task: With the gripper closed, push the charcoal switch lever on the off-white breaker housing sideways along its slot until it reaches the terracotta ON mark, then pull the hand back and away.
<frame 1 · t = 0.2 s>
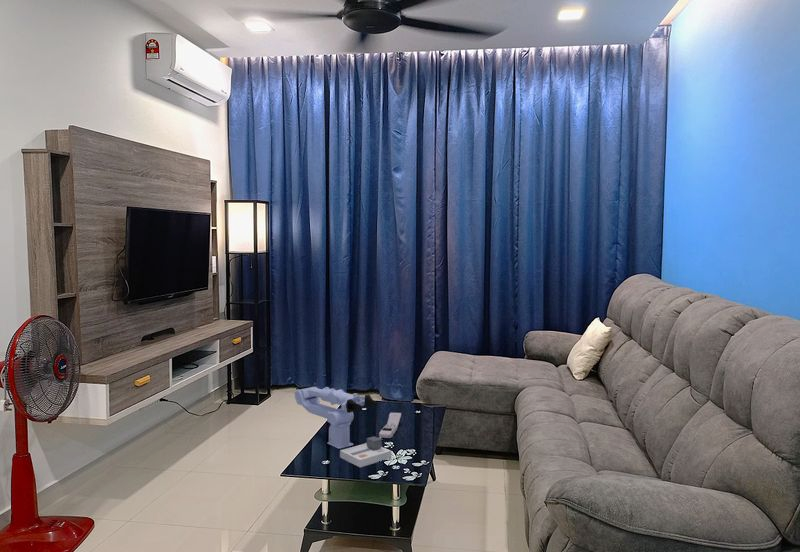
hand: (368, 406, 239), 21 cm above the table, tool horizontal, fingers open, 7 cm apart
breaker housing: (365, 457, 240), on the table
mobile phone: (390, 432, 273), on the table
switch lever: (374, 442, 243), point 5 cm above the table, slide at 0.0 cm
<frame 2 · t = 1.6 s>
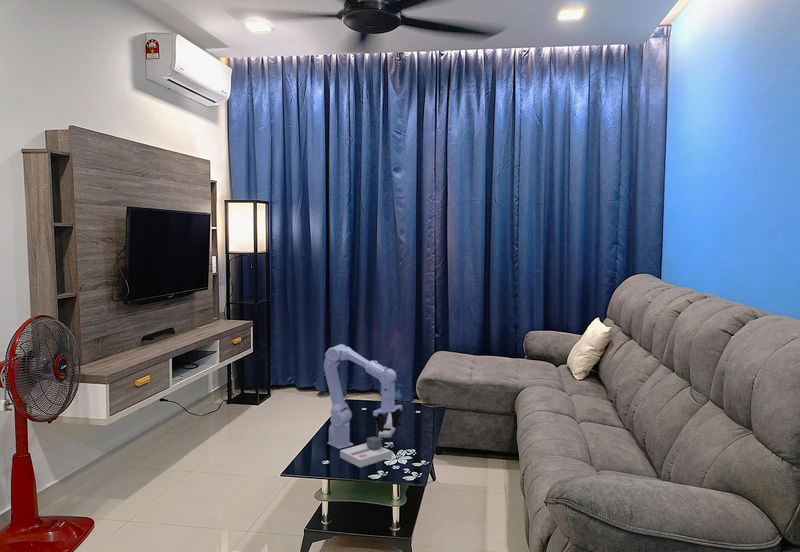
hand: (387, 429, 247), 9 cm above the table, tool pointing down, fingers open, 7 cm apart
nothing on the table moved.
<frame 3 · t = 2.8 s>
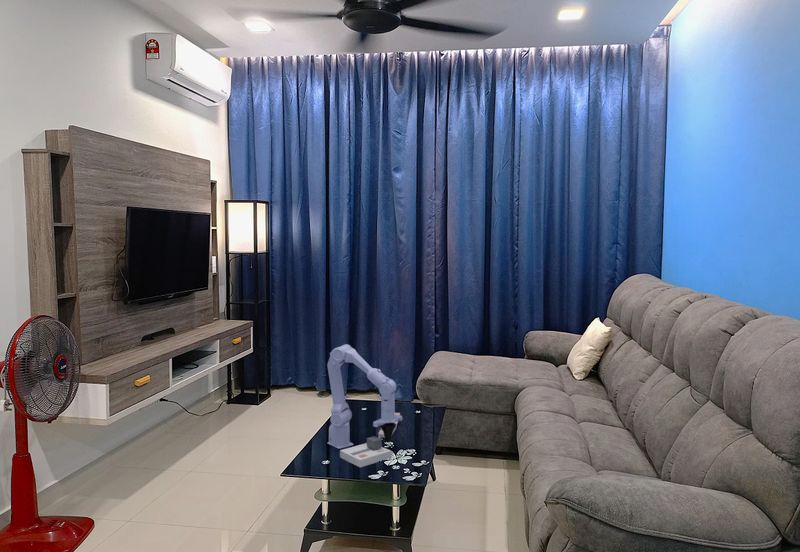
hand: (387, 440, 247), 5 cm above the table, tool pointing down, fingers closed
nothing on the table moved.
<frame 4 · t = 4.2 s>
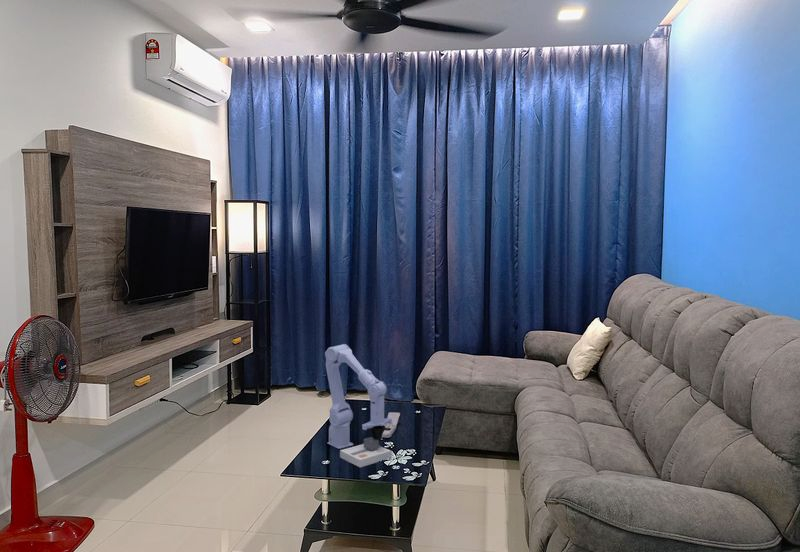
hand: (377, 443, 244), 5 cm above the table, tool pointing down, fingers closed
switch lever: (371, 443, 242), point 5 cm above the table, slide at 1.5 cm, touching gripper
everything else where it was.
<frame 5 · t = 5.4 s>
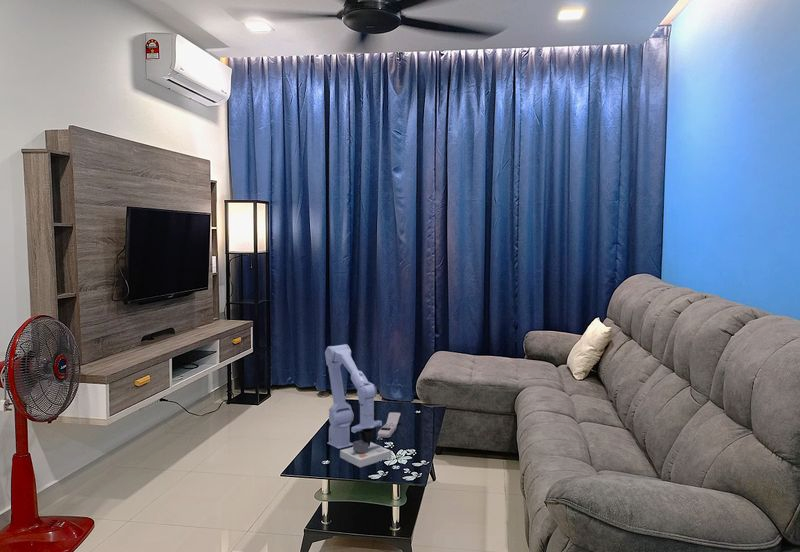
hand: (366, 445, 240), 5 cm above the table, tool pointing down, fingers closed
switch lever: (360, 446, 238), point 5 cm above the table, slide at 7.0 cm, touching gripper
everything else where it was.
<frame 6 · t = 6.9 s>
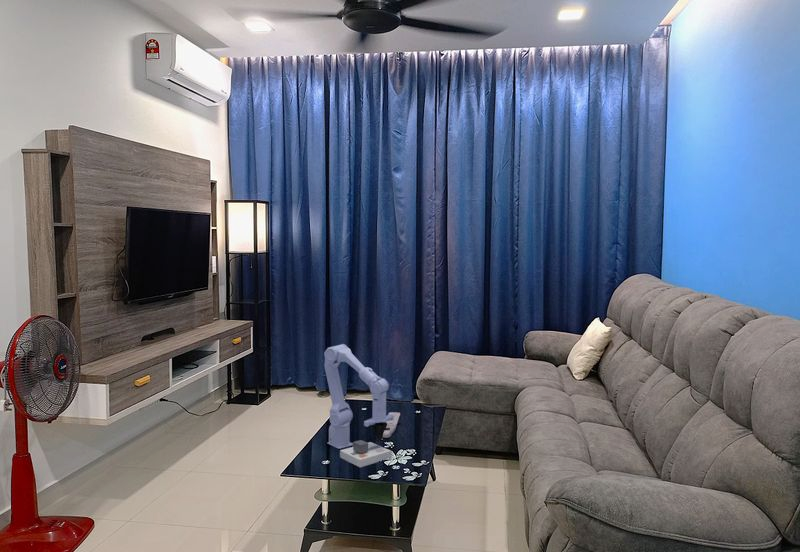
hand: (379, 439, 245), 6 cm above the table, tool pointing down, fingers closed
switch lever: (360, 446, 238), point 5 cm above the table, slide at 7.0 cm
everything else where it was.
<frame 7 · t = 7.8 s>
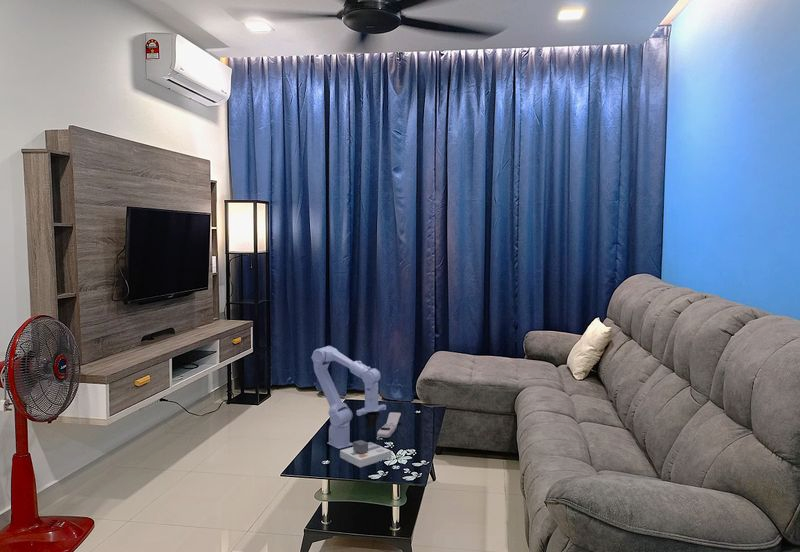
hand: (371, 429, 248), 9 cm above the table, tool pointing down, fingers closed
nothing on the table moved.
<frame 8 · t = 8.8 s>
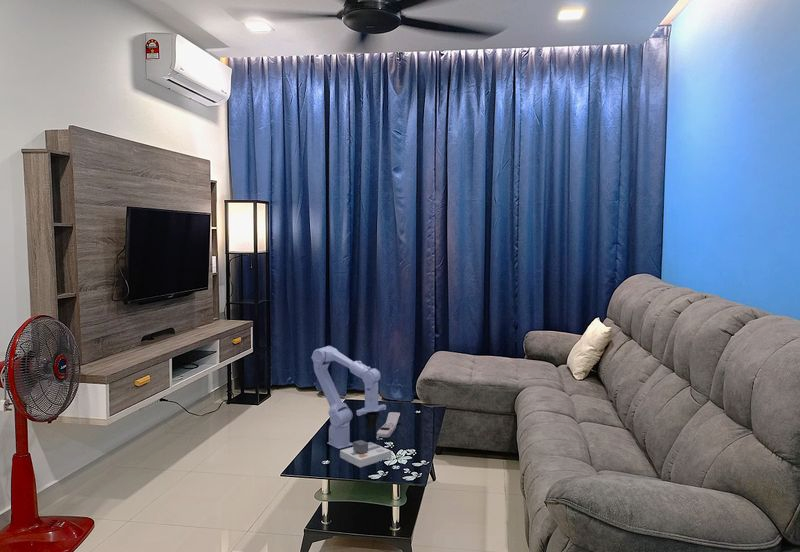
hand: (371, 429, 248), 9 cm above the table, tool pointing down, fingers closed
at the end: switch lever slide at 7.0 cm; mobile phone moved 1.3 cm from its start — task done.
